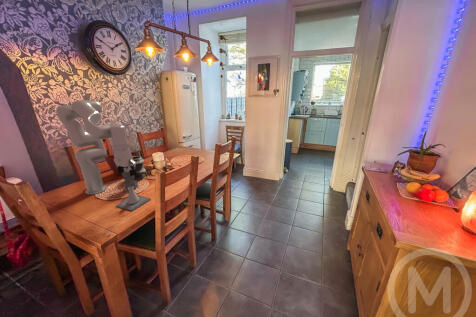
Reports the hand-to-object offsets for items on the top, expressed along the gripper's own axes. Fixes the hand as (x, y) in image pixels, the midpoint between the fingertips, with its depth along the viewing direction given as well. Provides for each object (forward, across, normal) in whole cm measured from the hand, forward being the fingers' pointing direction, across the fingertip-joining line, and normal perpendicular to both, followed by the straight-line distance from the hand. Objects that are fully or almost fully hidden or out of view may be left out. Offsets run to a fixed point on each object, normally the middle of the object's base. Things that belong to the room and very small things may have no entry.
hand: (127, 174), depth 110 cm
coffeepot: (+21, -17, +14) cm, 30 cm away
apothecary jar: (+21, -29, +30) cm, 47 cm away
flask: (+20, 0, 0) cm, 20 cm away
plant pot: (+21, -48, +33) cm, 62 cm away
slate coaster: (+20, +1, 0) cm, 20 cm away
